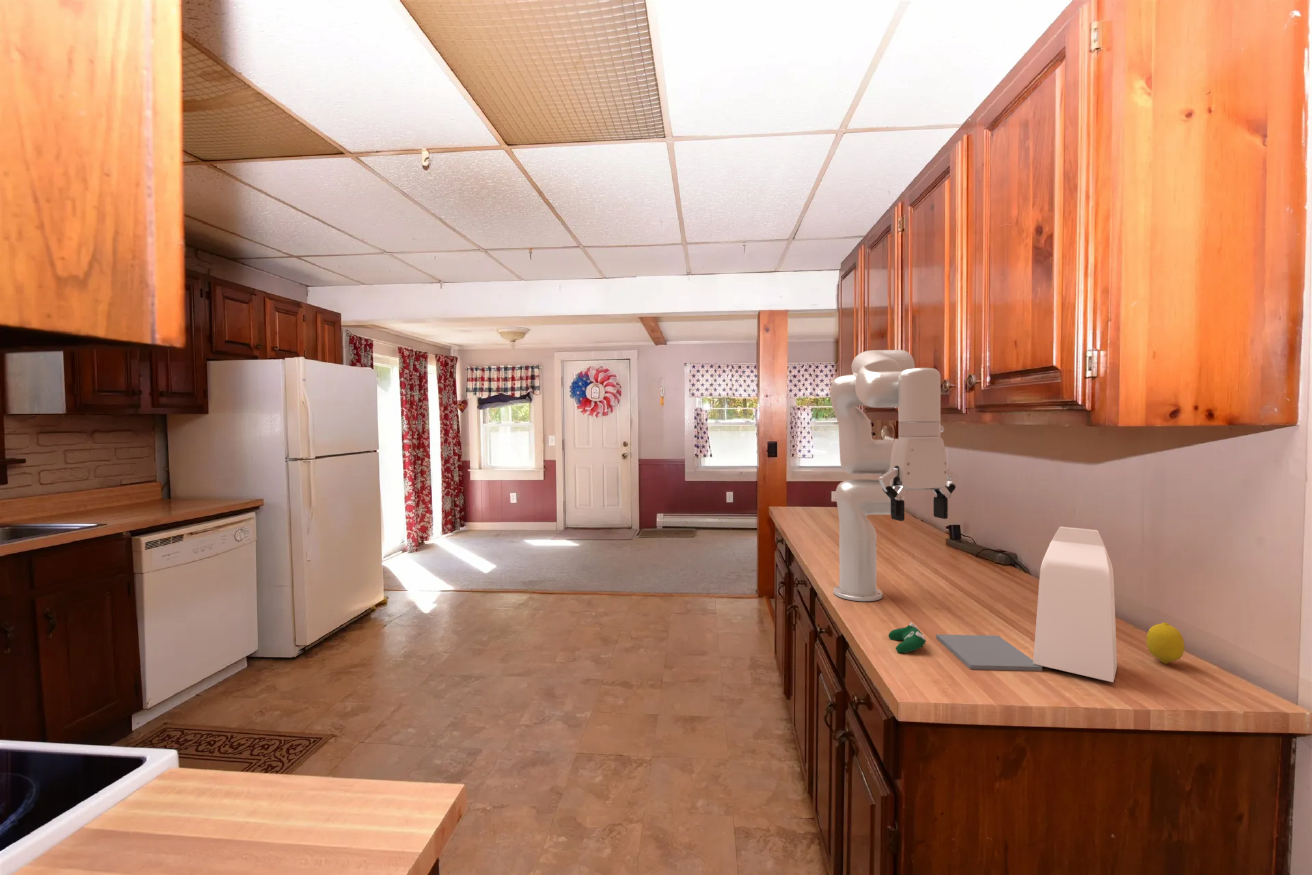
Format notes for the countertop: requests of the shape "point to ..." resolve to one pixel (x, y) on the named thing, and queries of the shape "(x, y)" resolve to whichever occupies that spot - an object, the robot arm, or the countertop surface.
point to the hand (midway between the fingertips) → (919, 518)
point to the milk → (1076, 606)
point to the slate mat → (987, 652)
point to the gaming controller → (908, 638)
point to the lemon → (1165, 642)
